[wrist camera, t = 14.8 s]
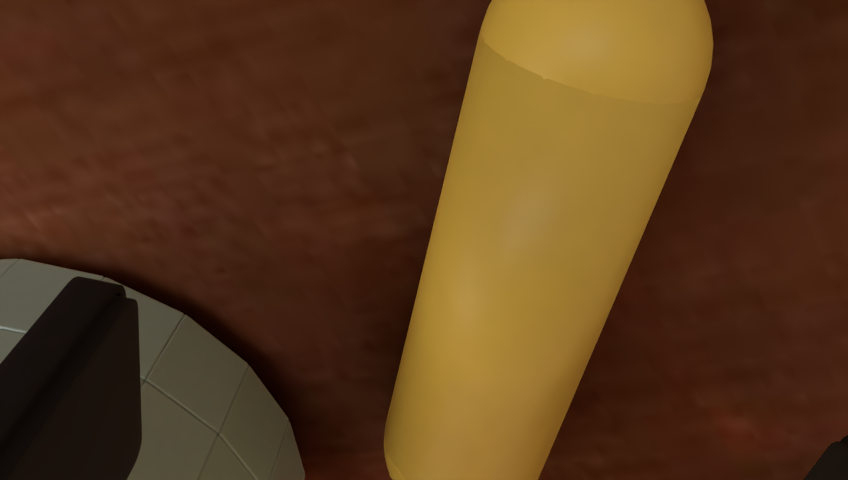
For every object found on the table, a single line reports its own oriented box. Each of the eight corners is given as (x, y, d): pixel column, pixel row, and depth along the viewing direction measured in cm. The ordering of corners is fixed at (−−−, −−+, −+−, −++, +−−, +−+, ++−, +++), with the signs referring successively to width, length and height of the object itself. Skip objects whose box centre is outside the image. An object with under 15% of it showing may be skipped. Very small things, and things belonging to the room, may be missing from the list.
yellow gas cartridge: (468, -107, 11) (601, -43, 8) (649, -78, 13) (810, -15, 10) (345, 475, 18) (397, 608, 16) (471, 448, 20) (536, 566, 17)
